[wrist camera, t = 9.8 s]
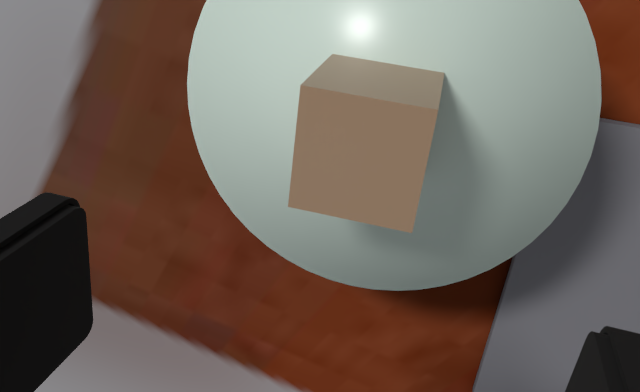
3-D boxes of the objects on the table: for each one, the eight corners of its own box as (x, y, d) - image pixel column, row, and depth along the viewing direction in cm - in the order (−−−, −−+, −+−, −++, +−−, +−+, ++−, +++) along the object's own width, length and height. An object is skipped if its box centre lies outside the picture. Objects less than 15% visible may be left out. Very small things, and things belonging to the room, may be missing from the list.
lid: (663, -81, 18) (732, -80, 13) (529, 312, 25) (544, 408, 20) (202, -138, 20) (119, -155, 16) (193, 236, 27) (133, 306, 22)
